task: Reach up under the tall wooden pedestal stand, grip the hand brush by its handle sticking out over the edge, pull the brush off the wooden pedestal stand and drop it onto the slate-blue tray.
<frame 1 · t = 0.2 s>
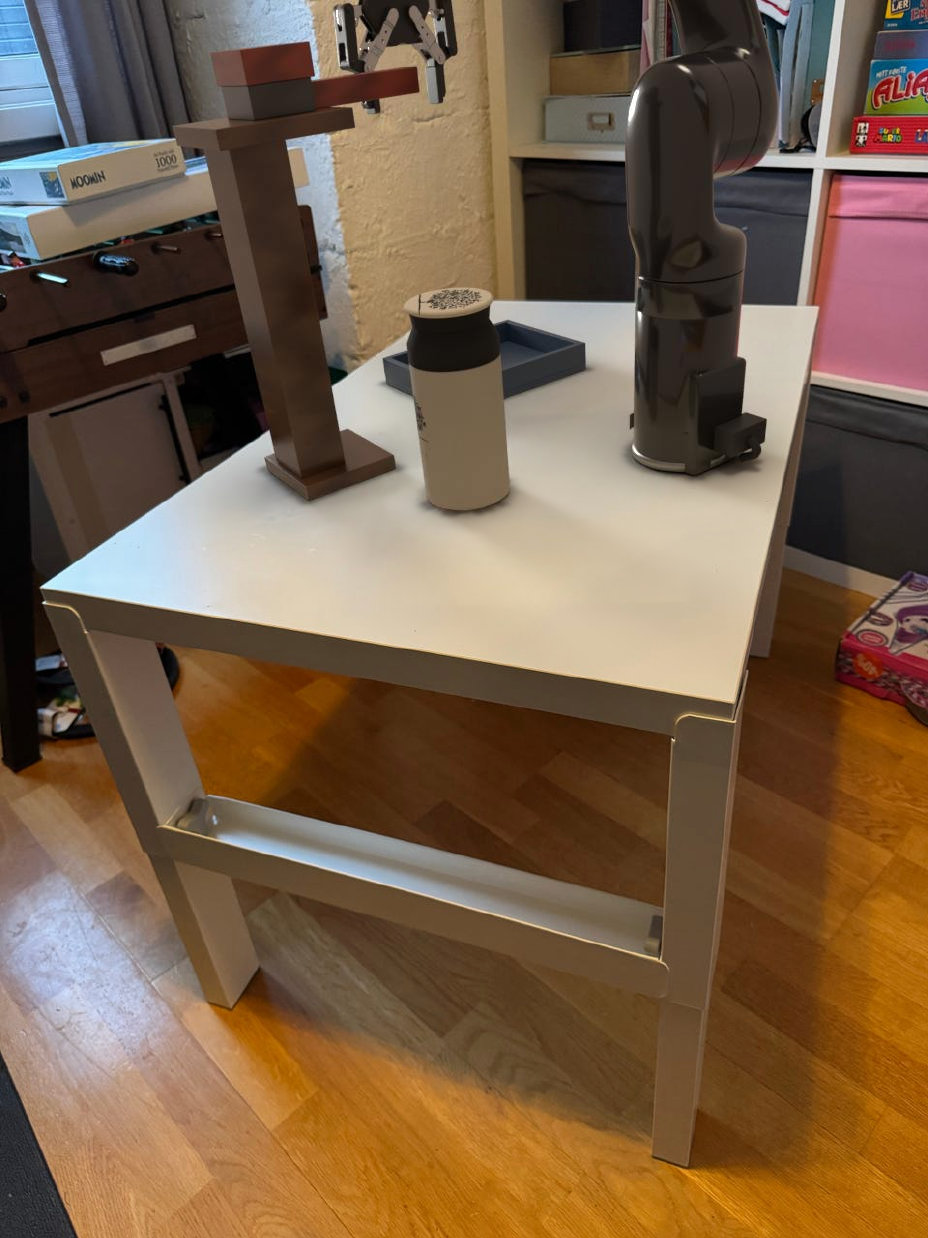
hand: (405, 108, 101), 29 cm above the table, tool pointing down, fingers open, 8 cm apart
tray: (484, 376, 110), on the table
wooden pedestal stand: (330, 469, 91), on the table
travel mug: (468, 495, 84), on the table
brush: (272, 114, 74), point 32 cm above the table, touching wooden pedestal stand
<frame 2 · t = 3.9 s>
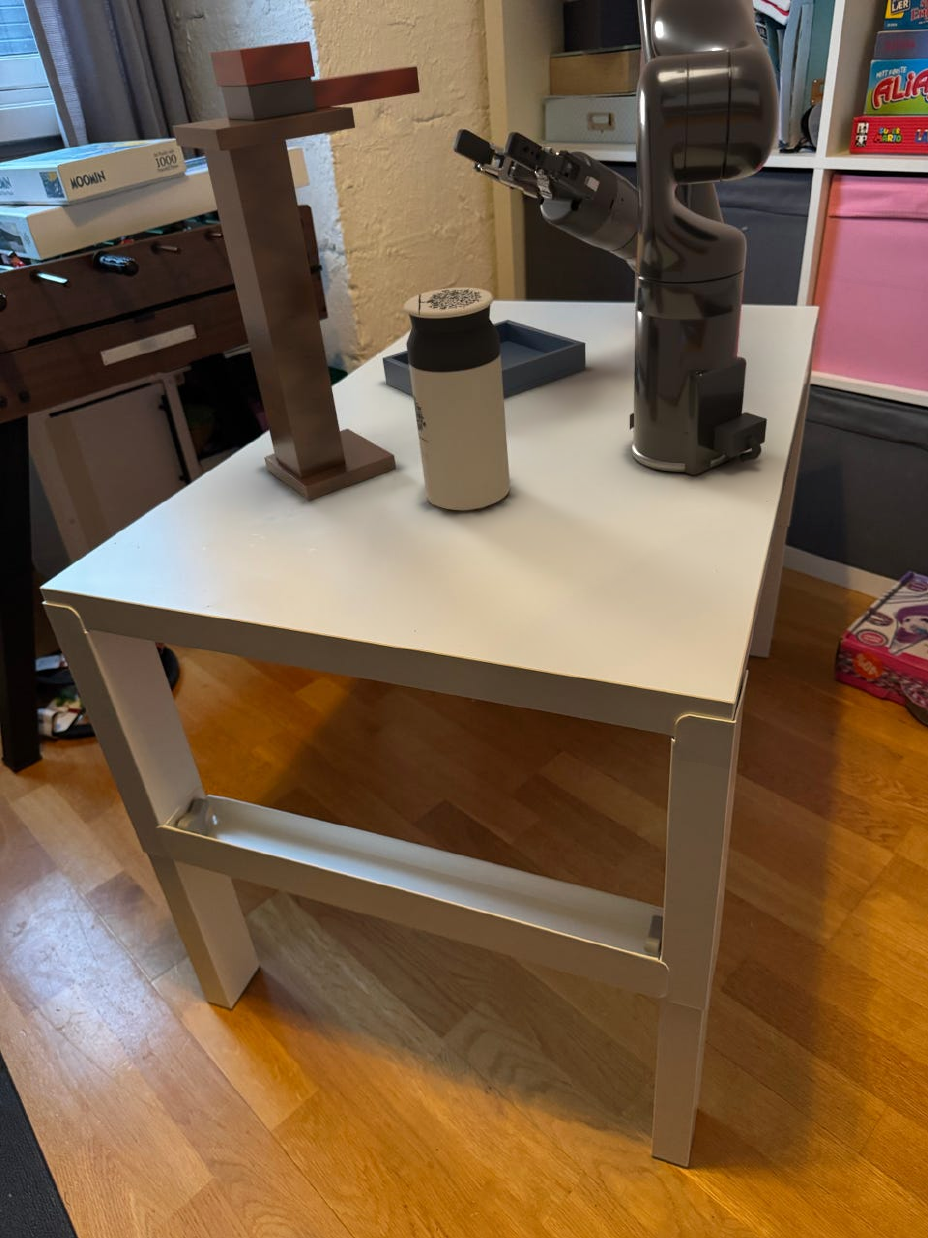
hand: (482, 140, 85), 27 cm above the table, tool pointing upward, fingers open, 8 cm apart
nothing on the table moved.
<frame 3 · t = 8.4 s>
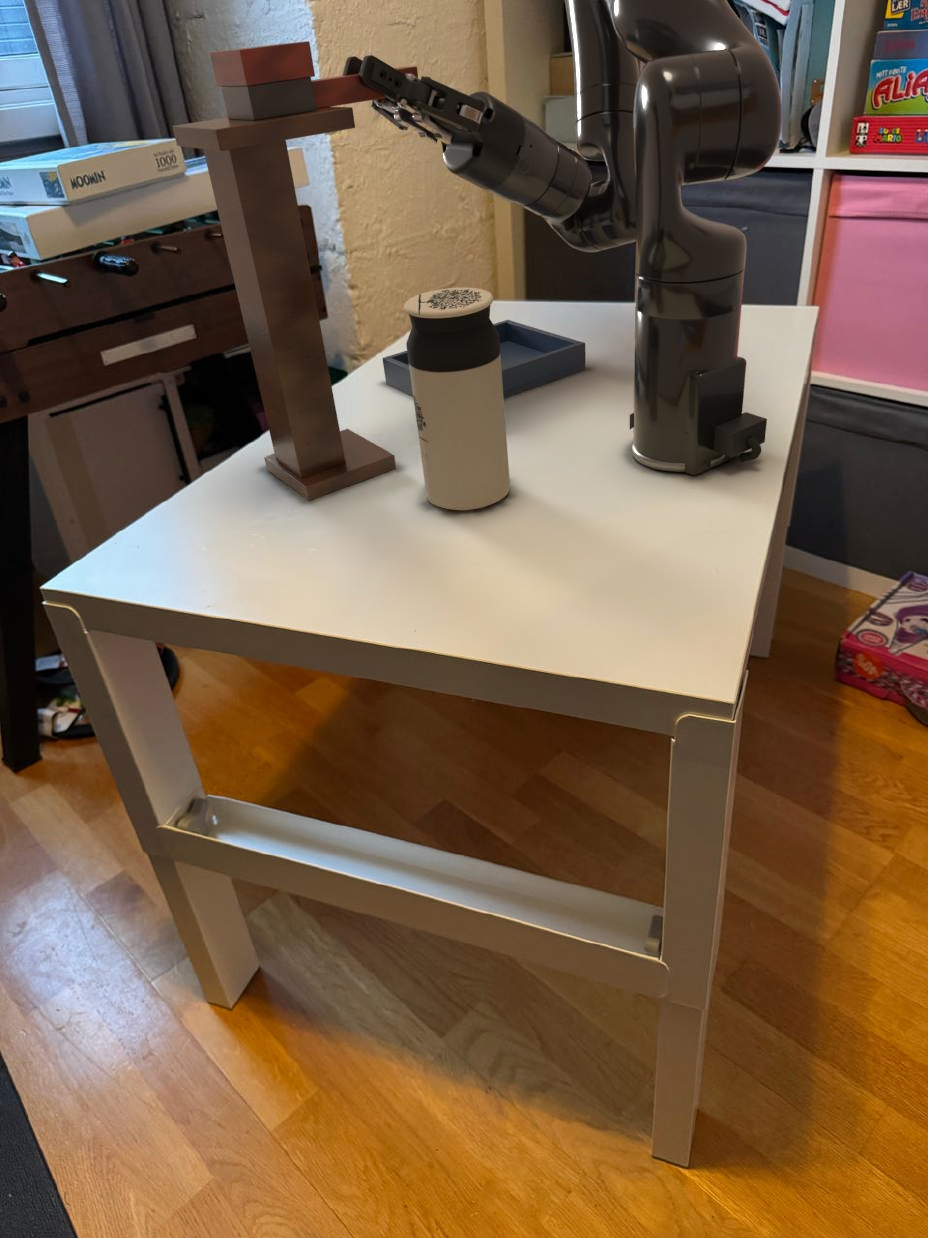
hand: (355, 67, 76), 34 cm above the table, tool pointing upward, fingers closed on brush, 2 cm apart
brush: (271, 114, 74), point 32 cm above the table, touching gripper, wooden pedestal stand
everything else where it was.
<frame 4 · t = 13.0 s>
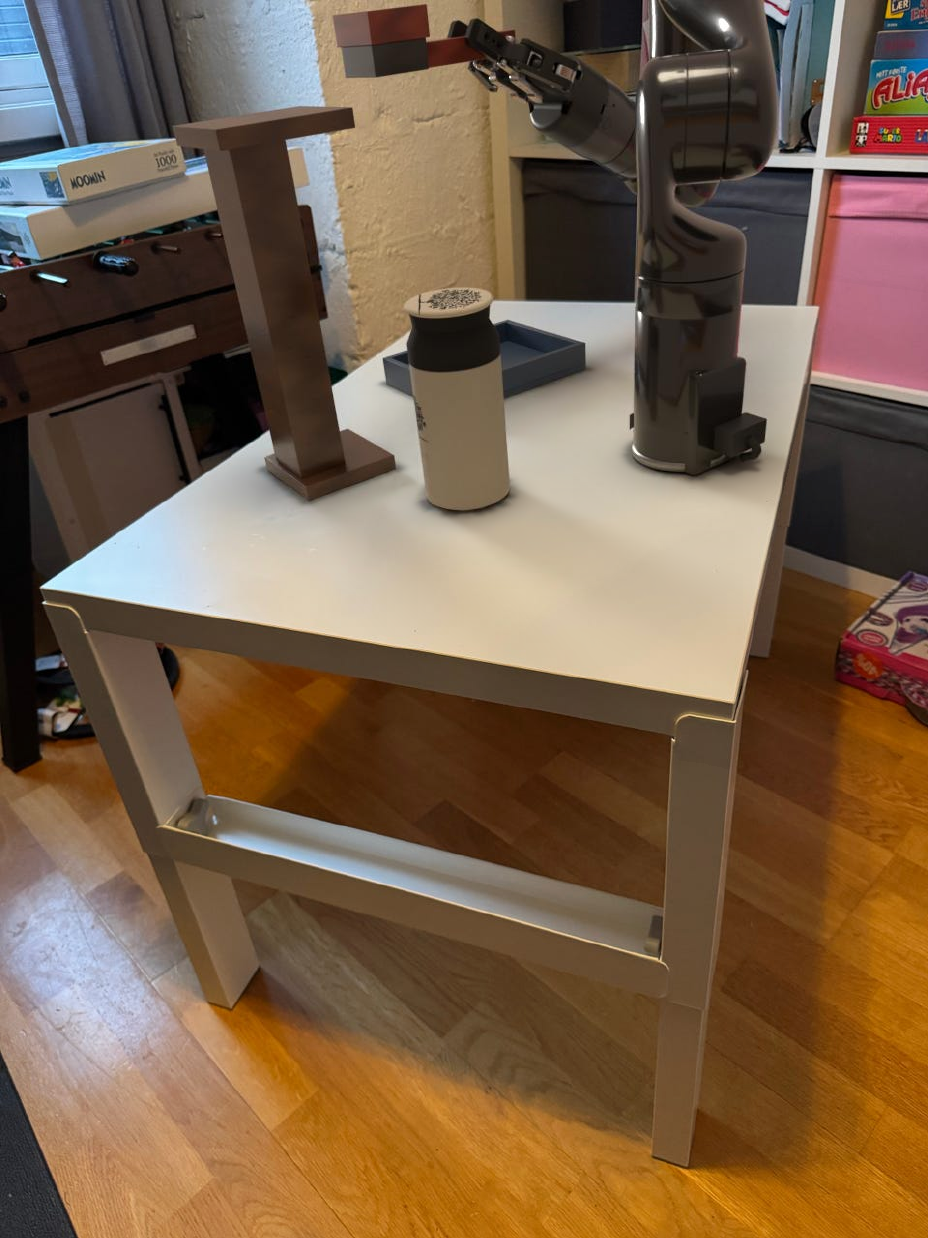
hand: (460, 30, 82), 36 cm above the table, tool pointing upward, fingers closed on brush, 2 cm apart
brush: (387, 73, 80), point 34 cm above the table, touching gripper
everything else where it was.
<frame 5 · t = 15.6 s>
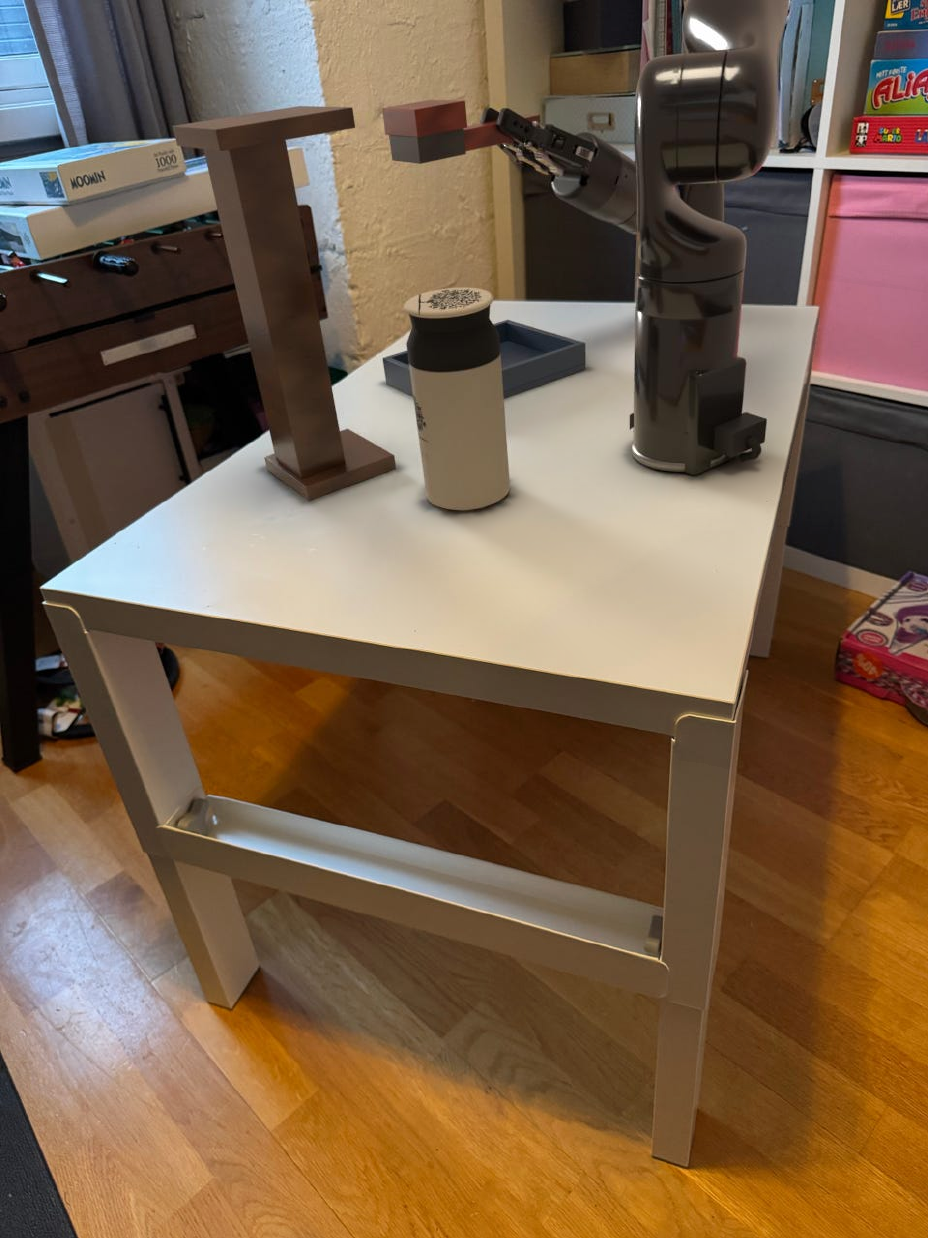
hand: (492, 117, 94), 28 cm above the table, tool pointing upward, fingers closed on brush, 2 cm apart
brush: (428, 157, 91), point 25 cm above the table, touching gripper
everything else where it was.
when the fingers open (21 cm above the table, at t = 17.8 s): brush drops 18 cm, resting on tray.
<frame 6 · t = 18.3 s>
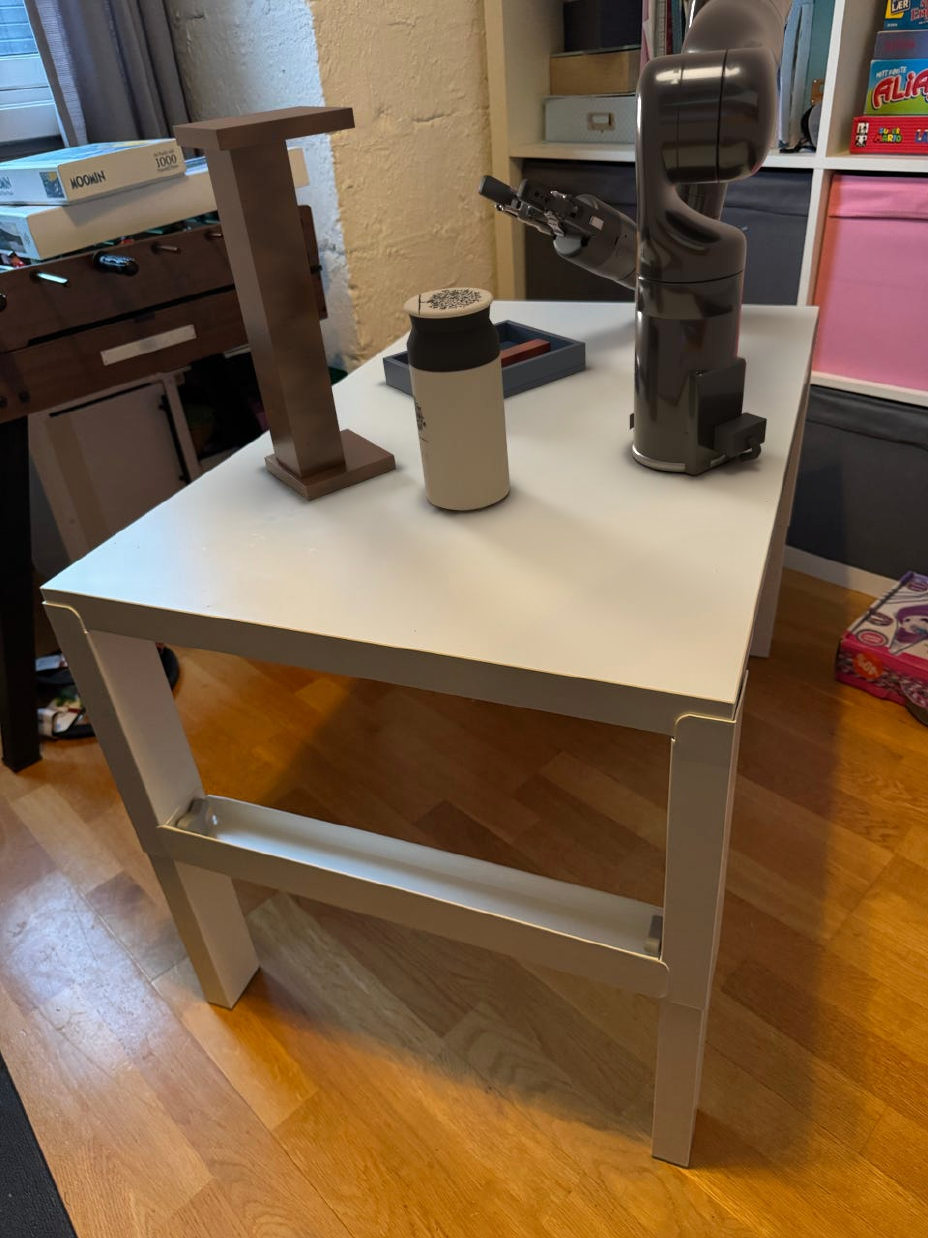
hand: (501, 185, 98), 21 cm above the table, tool pointing upward, fingers open, 6 cm apart
brush: (455, 386, 105), point 1 cm above the table, touching tray
everything else where it was.
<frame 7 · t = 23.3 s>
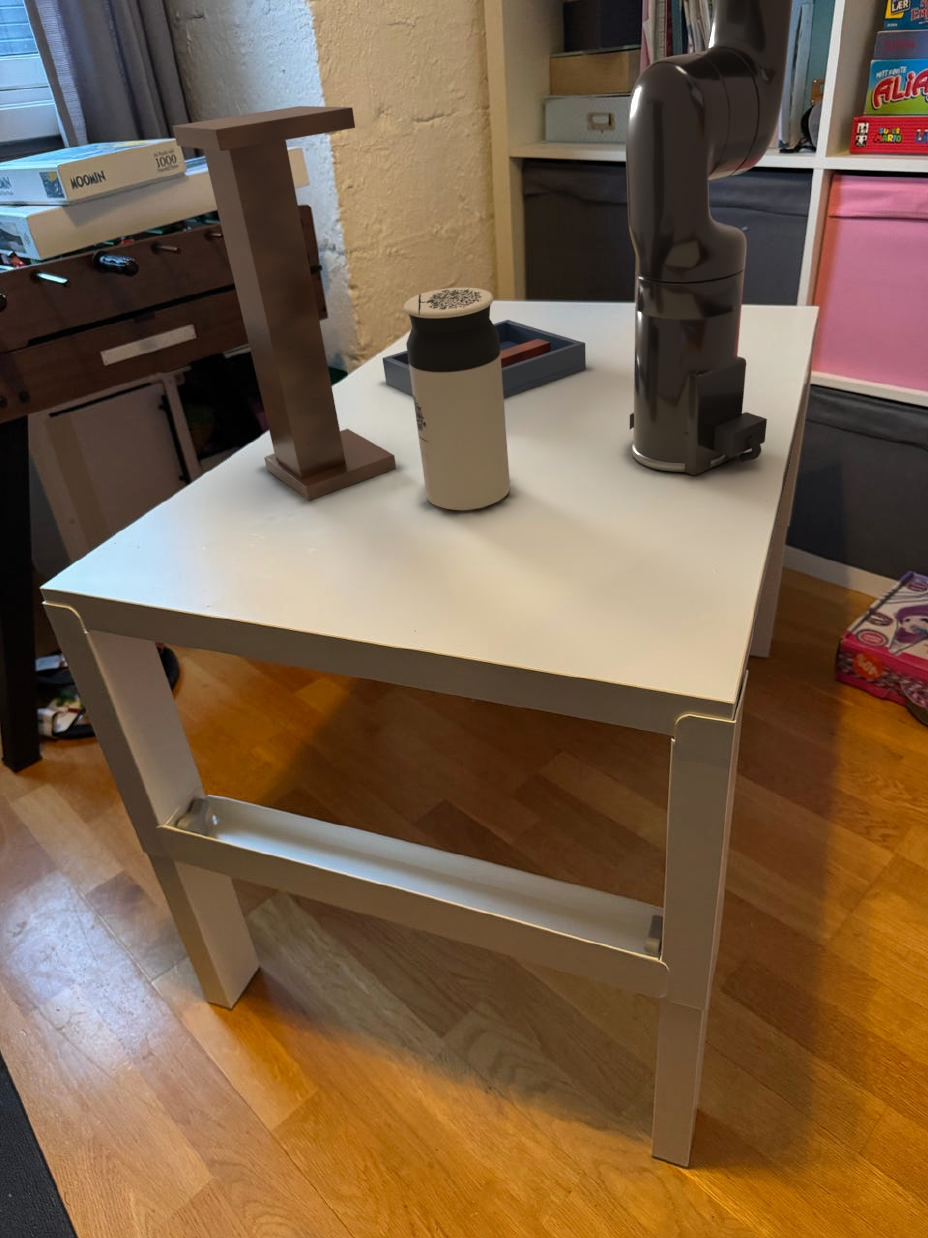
nothing on the table moved.
at the end: brush inside the target area in the tray (6.0 cm from its centre), point 0.8 cm above the tray's base; brush touching tray; brush moved 38.1 cm from its start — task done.
